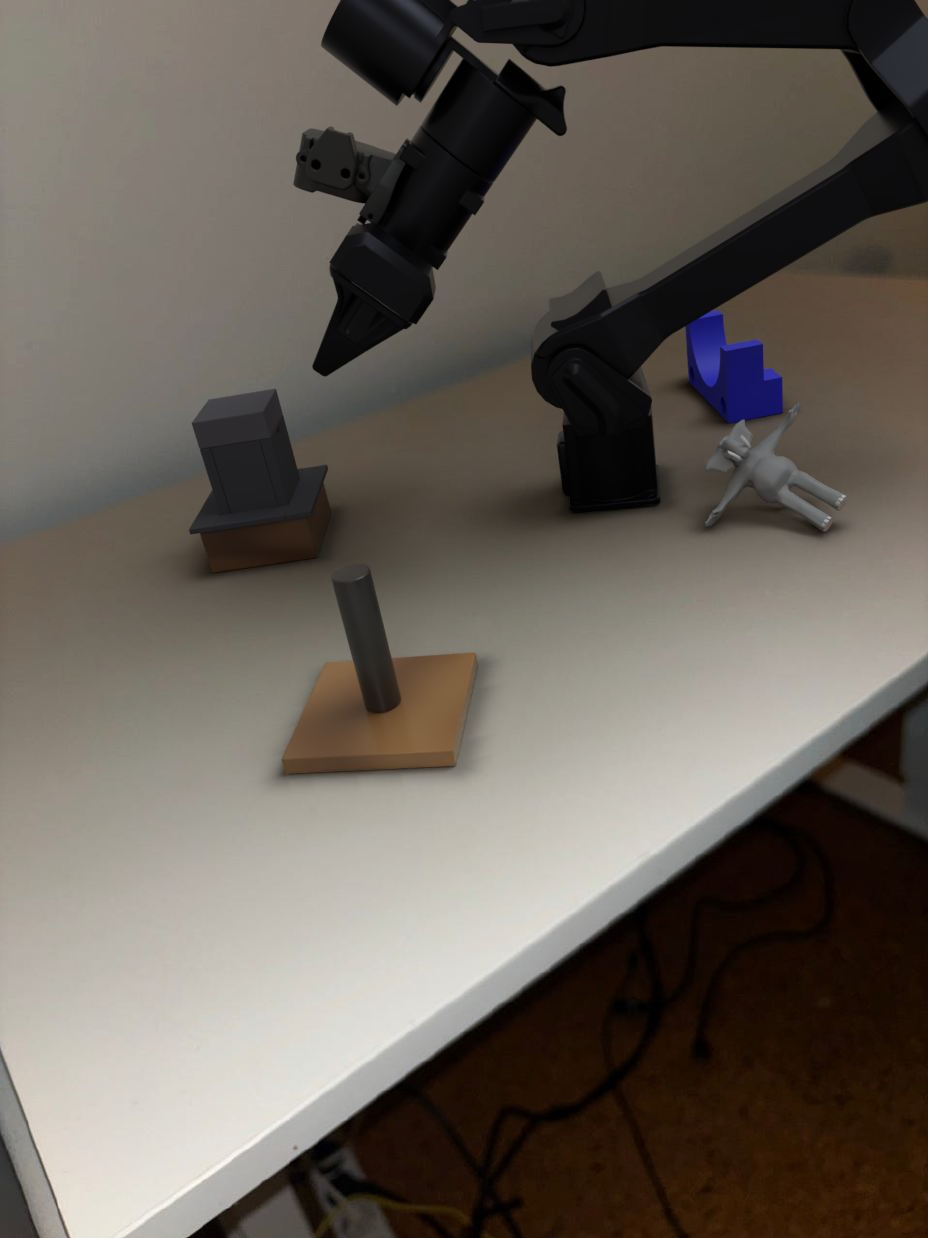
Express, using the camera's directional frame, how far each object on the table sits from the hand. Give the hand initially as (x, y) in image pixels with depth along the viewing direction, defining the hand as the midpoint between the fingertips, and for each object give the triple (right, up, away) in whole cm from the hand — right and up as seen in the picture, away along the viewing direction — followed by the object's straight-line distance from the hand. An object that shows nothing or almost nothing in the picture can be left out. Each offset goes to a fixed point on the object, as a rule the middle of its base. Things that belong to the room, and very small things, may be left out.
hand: (327, 352), depth 72 cm
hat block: (-5, -13, +7) cm, 15 cm away
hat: (-6, -10, +6) cm, 13 cm away
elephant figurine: (+31, -12, -3) cm, 33 cm away
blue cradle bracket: (+33, +1, +18) cm, 38 cm away
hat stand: (+5, -24, -16) cm, 29 cm away
